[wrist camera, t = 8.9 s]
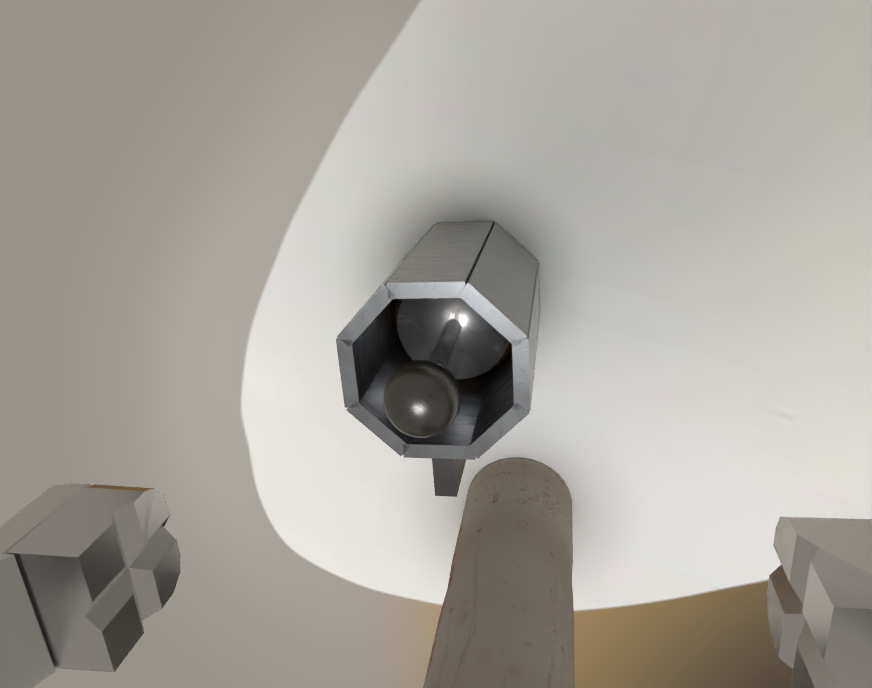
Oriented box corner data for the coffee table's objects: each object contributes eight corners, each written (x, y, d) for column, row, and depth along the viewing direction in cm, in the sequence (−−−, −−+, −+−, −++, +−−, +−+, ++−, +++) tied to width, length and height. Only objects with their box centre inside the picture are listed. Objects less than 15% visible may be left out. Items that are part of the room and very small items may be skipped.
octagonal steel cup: (538, 219, 44) (527, 280, 31) (541, 394, 49) (532, 510, 36) (394, 224, 46) (328, 284, 33) (410, 393, 50) (357, 502, 38)
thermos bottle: (467, 539, 54) (381, 955, 29) (467, 453, 52) (372, 831, 26) (568, 549, 53) (572, 995, 28) (575, 461, 50) (586, 869, 25)
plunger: (510, 266, 39) (488, 344, 28) (513, 374, 42) (494, 485, 30) (395, 269, 40) (330, 344, 29) (405, 373, 43) (349, 480, 32)
